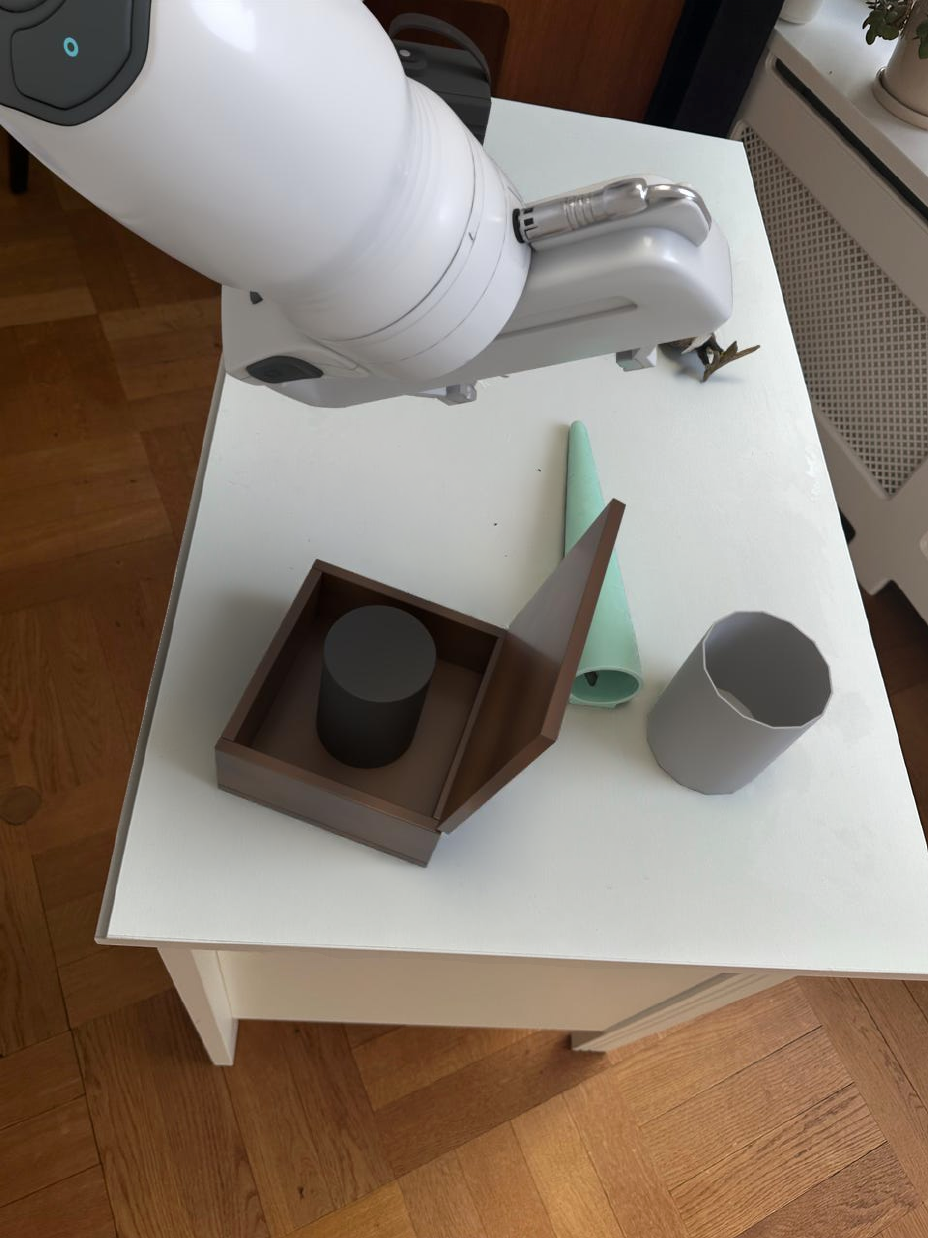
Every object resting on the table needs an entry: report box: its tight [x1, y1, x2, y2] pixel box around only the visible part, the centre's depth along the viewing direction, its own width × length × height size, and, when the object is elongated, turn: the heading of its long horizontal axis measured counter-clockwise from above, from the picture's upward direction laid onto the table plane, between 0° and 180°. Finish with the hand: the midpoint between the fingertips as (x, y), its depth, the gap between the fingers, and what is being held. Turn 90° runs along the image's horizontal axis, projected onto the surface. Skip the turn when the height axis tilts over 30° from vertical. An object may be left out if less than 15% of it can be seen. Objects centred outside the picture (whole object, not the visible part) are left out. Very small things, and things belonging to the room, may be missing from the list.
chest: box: [213, 558, 508, 869], centre depth 59 cm, size 14×15×6 cm
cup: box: [646, 610, 834, 796], centre depth 61 cm, size 8×8×10 cm
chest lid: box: [437, 497, 627, 835], centre depth 50 cm, size 14×15×1 cm
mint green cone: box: [564, 420, 645, 709], centre depth 70 cm, size 5×6×27 cm
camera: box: [388, 12, 493, 147], centre depth 89 cm, size 11×14×15 cm
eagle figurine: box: [666, 331, 761, 383], centre depth 86 cm, size 8×7×9 cm
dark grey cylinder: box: [316, 605, 436, 768], centre depth 57 cm, size 6×6×9 cm
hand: (549, 372), depth 46 cm, fingers open, 8 cm apart
